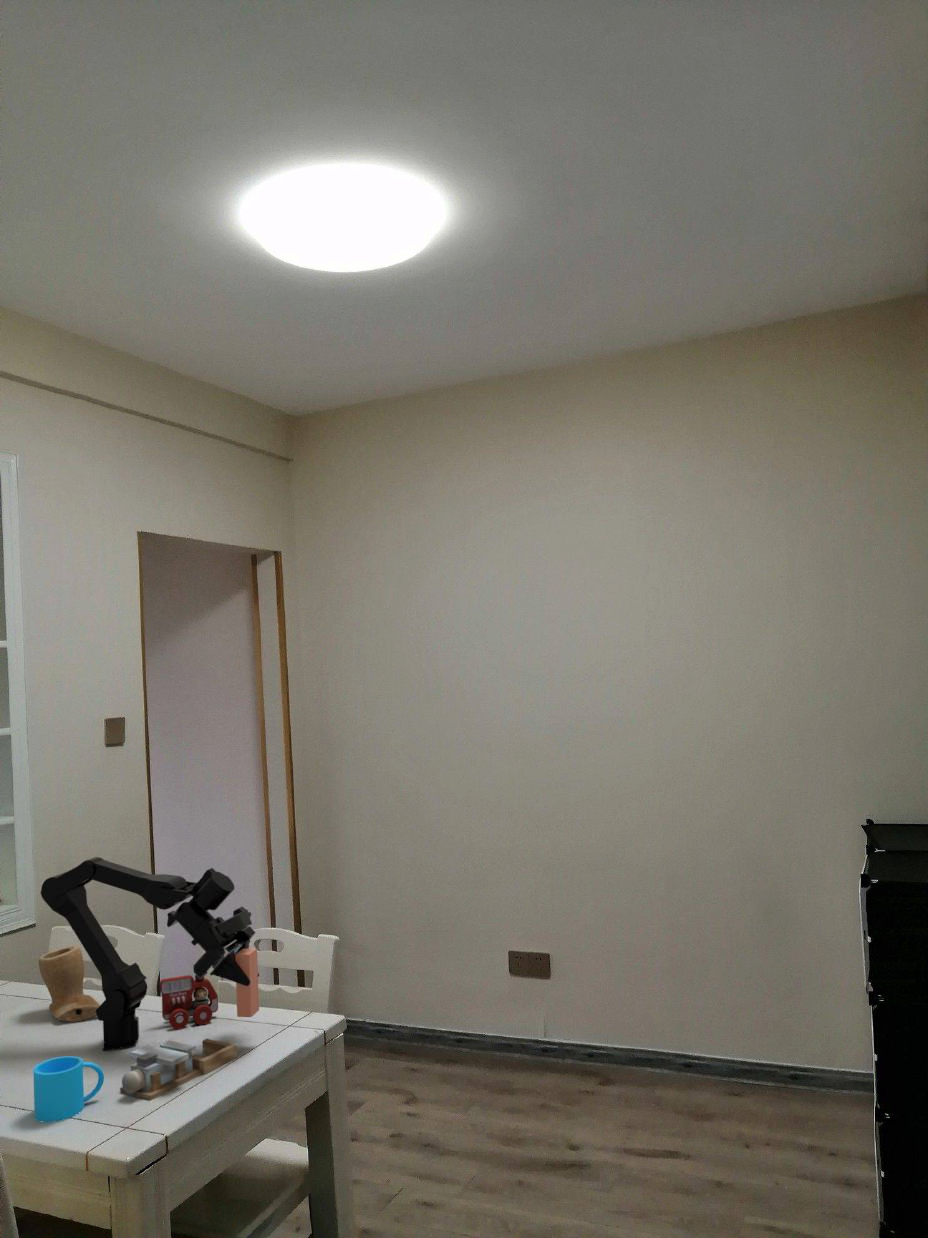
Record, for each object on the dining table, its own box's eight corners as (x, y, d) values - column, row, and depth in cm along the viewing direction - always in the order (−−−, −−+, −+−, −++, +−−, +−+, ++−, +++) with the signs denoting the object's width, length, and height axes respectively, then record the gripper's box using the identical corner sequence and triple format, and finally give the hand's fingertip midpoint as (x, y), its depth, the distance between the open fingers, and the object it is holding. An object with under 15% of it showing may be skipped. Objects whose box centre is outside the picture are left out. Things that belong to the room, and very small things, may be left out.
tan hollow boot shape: (36, 1012, 232) (34, 947, 233) (90, 1001, 238) (88, 937, 239) (47, 1031, 219) (45, 962, 220) (103, 1018, 225) (101, 951, 226)
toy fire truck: (221, 1022, 219) (219, 974, 220) (163, 1033, 214) (161, 984, 215) (215, 1012, 226) (214, 966, 226) (159, 1023, 221) (157, 975, 221)
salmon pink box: (237, 1017, 202) (235, 954, 202) (245, 1010, 206) (243, 948, 206) (251, 1017, 201) (249, 954, 202) (259, 1010, 205) (257, 949, 206)
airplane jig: (199, 1050, 203) (198, 1019, 204) (240, 1058, 198) (238, 1026, 198) (108, 1094, 184) (107, 1060, 184) (150, 1105, 178) (149, 1069, 178)
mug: (41, 1127, 171) (39, 1079, 172) (29, 1111, 178) (28, 1065, 178) (111, 1106, 179) (110, 1059, 179) (97, 1091, 185) (96, 1047, 185)
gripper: (205, 909, 196) (260, 967, 193) (245, 888, 214) (295, 940, 212) (170, 949, 197) (224, 1007, 195) (212, 924, 216) (261, 977, 213)
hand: (253, 981), depth 203 cm, fingers closed on salmon pink box, 4 cm apart
